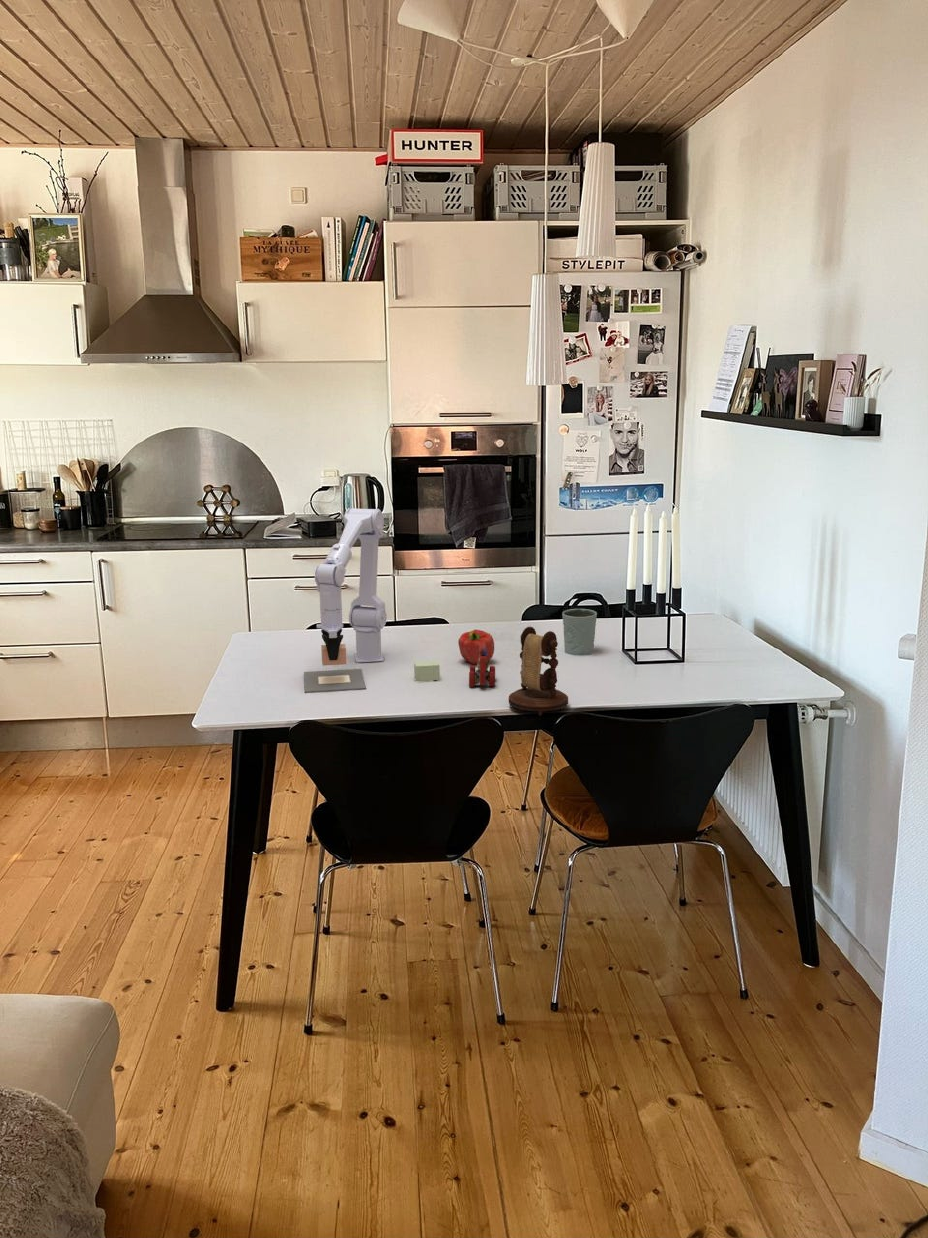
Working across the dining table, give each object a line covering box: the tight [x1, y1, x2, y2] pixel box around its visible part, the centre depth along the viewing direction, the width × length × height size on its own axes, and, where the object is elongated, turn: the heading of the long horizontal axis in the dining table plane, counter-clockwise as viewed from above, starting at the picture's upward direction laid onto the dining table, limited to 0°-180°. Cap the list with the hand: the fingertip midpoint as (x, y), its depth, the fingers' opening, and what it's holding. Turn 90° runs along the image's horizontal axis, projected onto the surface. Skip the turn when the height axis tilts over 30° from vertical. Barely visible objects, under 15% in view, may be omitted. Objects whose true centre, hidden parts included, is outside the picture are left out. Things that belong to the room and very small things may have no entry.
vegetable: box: [457, 629, 495, 665], centre depth 285 cm, size 11×10×10 cm
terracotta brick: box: [320, 643, 347, 667], centre depth 268 cm, size 4×6×4 cm
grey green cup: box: [561, 608, 598, 656], centre depth 294 cm, size 10×10×12 cm
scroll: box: [508, 626, 569, 717], centre depth 245 cm, size 15×15×20 cm
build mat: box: [303, 668, 367, 694], centre depth 270 cm, size 18×16×1 cm
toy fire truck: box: [468, 642, 496, 687], centre depth 265 cm, size 7×12×10 cm, turn 178°
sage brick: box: [413, 660, 441, 682], centre depth 270 cm, size 4×6×4 cm
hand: (333, 657), depth 268 cm, fingers closed on terracotta brick, 4 cm apart
